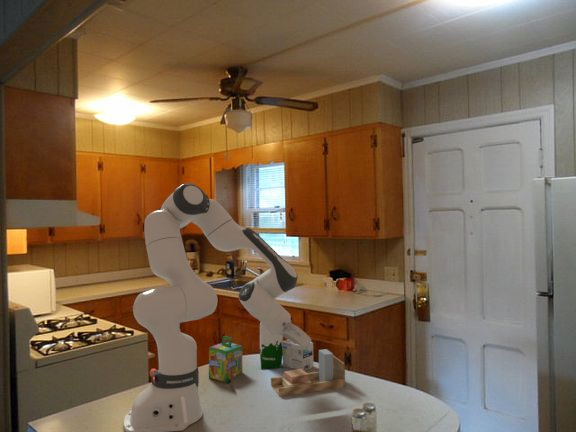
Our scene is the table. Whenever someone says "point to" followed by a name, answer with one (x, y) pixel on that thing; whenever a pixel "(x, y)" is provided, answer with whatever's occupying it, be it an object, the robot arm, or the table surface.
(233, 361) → the chalk box
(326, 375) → the tall board
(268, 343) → the milk carton
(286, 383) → the offcut low
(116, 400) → the table surface
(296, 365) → the light bulb box
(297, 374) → the offcut top
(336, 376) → the rack
